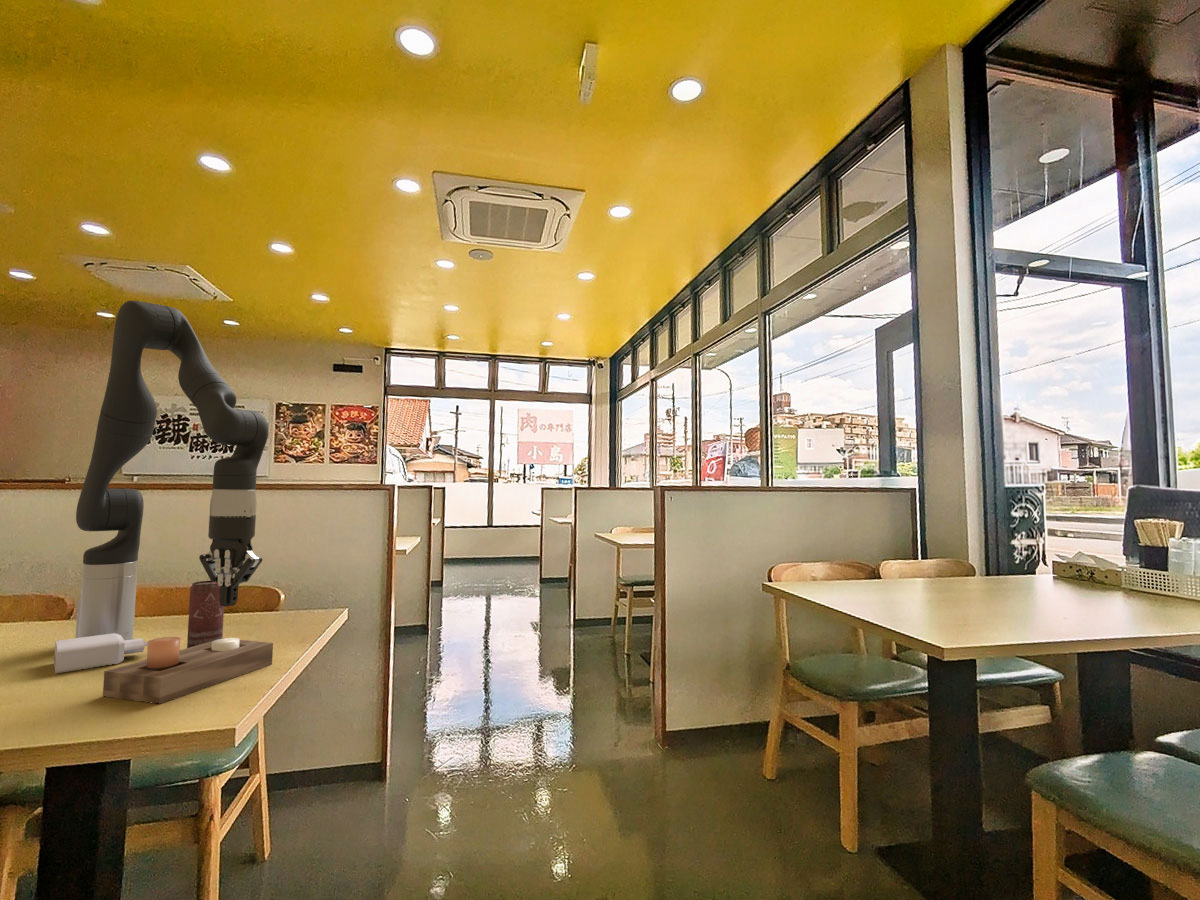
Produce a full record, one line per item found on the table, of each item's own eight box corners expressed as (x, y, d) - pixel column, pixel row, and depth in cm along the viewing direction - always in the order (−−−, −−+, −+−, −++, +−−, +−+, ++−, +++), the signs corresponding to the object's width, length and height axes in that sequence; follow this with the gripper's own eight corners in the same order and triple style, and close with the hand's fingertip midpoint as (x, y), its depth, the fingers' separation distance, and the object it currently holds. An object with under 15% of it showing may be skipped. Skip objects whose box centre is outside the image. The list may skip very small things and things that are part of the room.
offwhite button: (204, 664, 109) (205, 642, 109) (225, 658, 113) (226, 637, 113) (223, 667, 108) (224, 644, 108) (244, 660, 112) (245, 638, 112)
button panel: (102, 696, 95) (104, 671, 96) (222, 658, 117) (223, 638, 117) (159, 704, 92) (160, 678, 92) (272, 664, 113) (273, 642, 114)
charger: (158, 659, 117) (55, 675, 106) (151, 650, 123) (53, 664, 113) (159, 635, 117) (57, 649, 106) (152, 627, 123) (55, 639, 113)
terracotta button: (139, 666, 97) (141, 642, 98) (165, 659, 102) (166, 635, 102) (160, 669, 96) (161, 644, 96) (185, 661, 100) (186, 637, 101)
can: (229, 646, 126) (233, 579, 127) (207, 654, 119) (210, 584, 120) (203, 645, 126) (206, 579, 127) (179, 653, 120) (183, 583, 121)
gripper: (187, 513, 110) (181, 607, 109) (244, 515, 107) (239, 612, 106) (222, 511, 117) (217, 599, 117) (277, 513, 114) (272, 604, 113)
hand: (228, 605), depth 111 cm, fingers closed
